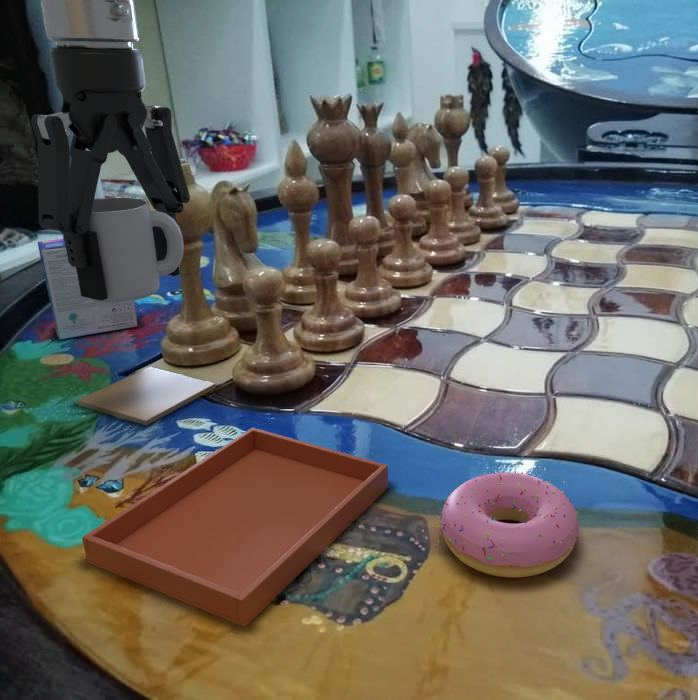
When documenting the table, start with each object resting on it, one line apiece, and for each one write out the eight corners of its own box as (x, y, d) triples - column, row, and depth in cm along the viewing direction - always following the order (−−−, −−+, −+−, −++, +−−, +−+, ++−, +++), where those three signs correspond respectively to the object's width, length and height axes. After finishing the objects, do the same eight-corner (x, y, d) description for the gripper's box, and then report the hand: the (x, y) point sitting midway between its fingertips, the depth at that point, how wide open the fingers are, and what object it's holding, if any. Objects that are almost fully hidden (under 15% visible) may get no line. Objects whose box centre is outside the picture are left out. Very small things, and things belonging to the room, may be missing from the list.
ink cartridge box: (131, 315, 104) (115, 213, 98) (140, 327, 100) (124, 222, 94) (53, 328, 98) (31, 221, 93) (59, 341, 94) (36, 230, 89)
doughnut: (602, 571, 56) (608, 525, 54) (466, 602, 52) (467, 555, 50) (541, 493, 65) (544, 452, 63) (422, 515, 61) (422, 473, 60)
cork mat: (77, 405, 78) (76, 400, 78) (150, 371, 87) (149, 366, 86) (146, 425, 74) (145, 420, 74) (216, 388, 83) (215, 383, 83)
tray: (86, 562, 55) (81, 537, 54) (254, 447, 71) (252, 427, 70) (245, 627, 49) (242, 600, 48) (388, 487, 65) (388, 464, 64)
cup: (81, 286, 76) (65, 200, 73) (182, 274, 81) (172, 193, 77) (86, 307, 70) (69, 215, 67) (195, 293, 75) (184, 206, 71)
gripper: (11, 45, 56) (66, 323, 64) (211, 47, 74) (233, 264, 82) (-51, 42, 59) (9, 309, 67) (156, 45, 77) (182, 255, 85)
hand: (132, 284), depth 75 cm, fingers closed on cup, 9 cm apart
